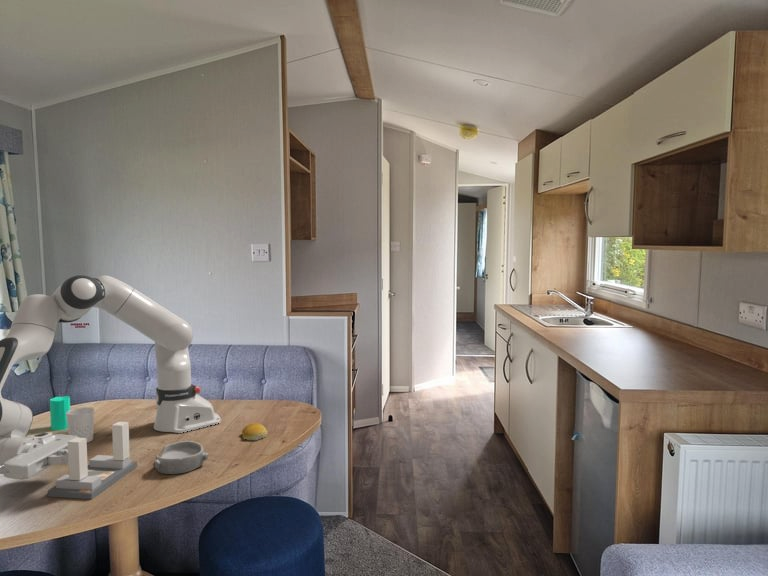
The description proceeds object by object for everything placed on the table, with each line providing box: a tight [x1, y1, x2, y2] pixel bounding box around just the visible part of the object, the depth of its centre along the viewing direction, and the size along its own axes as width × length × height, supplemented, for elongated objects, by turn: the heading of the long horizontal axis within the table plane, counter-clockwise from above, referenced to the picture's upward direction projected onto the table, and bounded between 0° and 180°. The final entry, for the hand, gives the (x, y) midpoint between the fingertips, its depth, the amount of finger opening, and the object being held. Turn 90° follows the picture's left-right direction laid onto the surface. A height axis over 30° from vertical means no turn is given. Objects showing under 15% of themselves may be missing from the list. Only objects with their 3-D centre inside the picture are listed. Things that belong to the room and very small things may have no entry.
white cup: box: [66, 406, 95, 443], centre depth 171 cm, size 8×8×10 cm
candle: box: [49, 393, 71, 431], centre depth 183 cm, size 6×6×12 cm
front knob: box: [67, 438, 88, 480], centre depth 136 cm, size 3×3×10 cm
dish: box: [153, 440, 209, 475], centre depth 153 cm, size 14×14×5 cm
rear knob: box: [111, 421, 131, 460], centre depth 148 cm, size 3×3×10 cm
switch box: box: [47, 454, 138, 500], centre depth 143 cm, size 12×20×4 cm, turn 174°
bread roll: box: [241, 422, 268, 441], centre depth 177 cm, size 8×9×4 cm
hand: (72, 457), depth 136 cm, fingers closed, pressing on front knob
